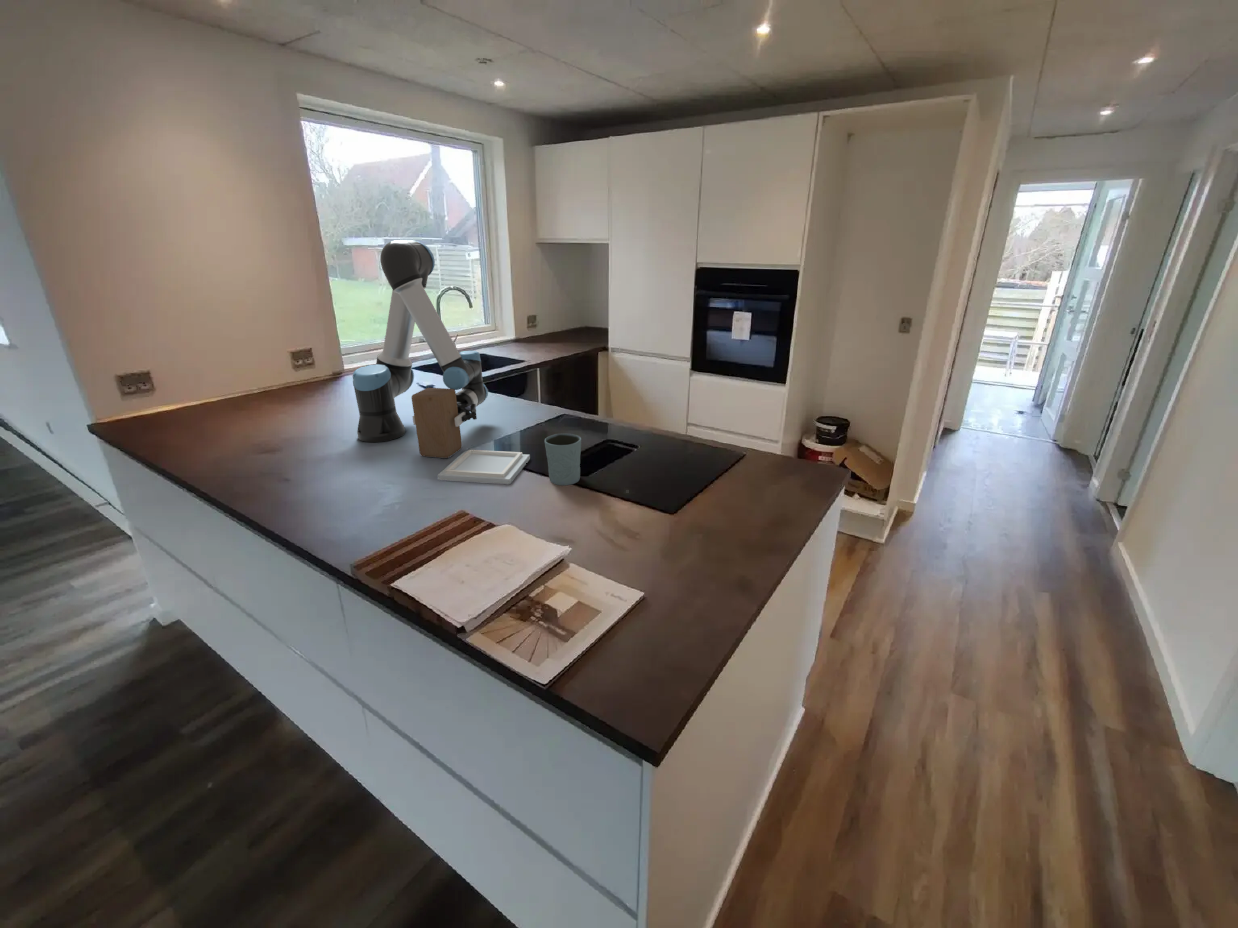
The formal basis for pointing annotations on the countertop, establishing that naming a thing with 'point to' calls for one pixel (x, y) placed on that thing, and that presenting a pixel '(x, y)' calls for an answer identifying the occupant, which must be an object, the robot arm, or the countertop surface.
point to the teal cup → (563, 458)
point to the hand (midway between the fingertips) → (435, 421)
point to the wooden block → (436, 422)
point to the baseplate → (485, 467)
